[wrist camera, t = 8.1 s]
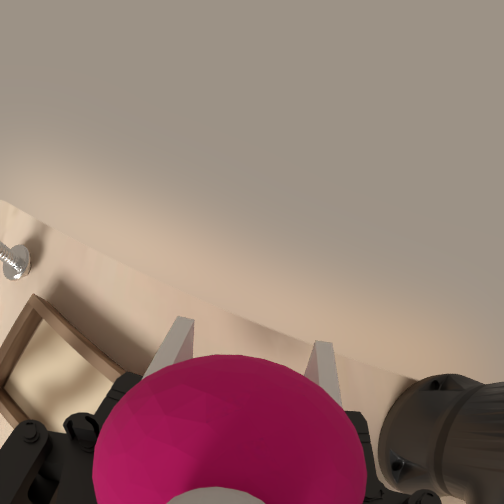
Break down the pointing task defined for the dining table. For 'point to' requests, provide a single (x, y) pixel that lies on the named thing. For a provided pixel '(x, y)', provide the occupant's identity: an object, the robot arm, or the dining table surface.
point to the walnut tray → (51, 369)
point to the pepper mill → (228, 439)
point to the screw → (15, 261)
